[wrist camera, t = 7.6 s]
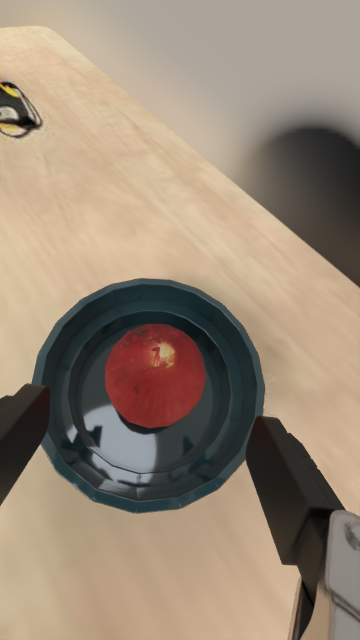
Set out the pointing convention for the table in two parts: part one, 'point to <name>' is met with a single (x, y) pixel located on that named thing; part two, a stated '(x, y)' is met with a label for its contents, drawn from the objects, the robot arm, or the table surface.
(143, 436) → the bowl
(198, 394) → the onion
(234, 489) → the table surface
